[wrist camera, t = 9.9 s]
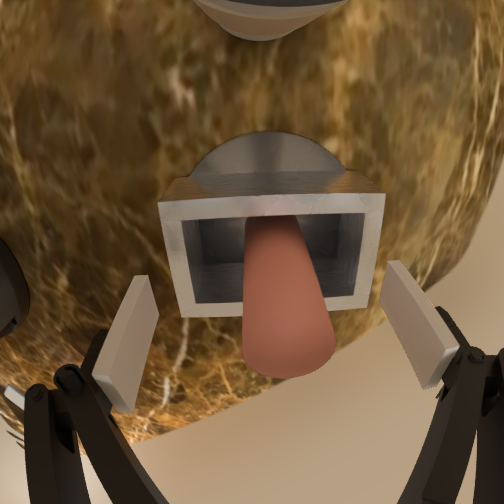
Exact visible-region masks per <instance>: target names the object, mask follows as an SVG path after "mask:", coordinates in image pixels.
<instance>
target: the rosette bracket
mask: <svg viewBox="0 0 504 504" xmlns="http://www.w3.org/2000/svg"><path fill="white" fill-rule="evenodd" d="M385 196H386V193H385V192H383V191H382V190H381V189H380V188H379V187H377V186H376V185H375V184H374V183H373V182H371V181H370V180H369V179H368V178H367V177H365V176H364V175H363V174H362V173H360V172H359V171H347V170H346V169H345V168H344V167H343V165H342V164H341V163H340V162H339V160H337V159H336V158H335V157H334V156H333V155H332V154H331V153H330V152H329V151H327V150H326V149H325V148H323V147H322V146H320V145H319V144H317V143H316V142H314V141H312V140H309V139H307V138H305V137H303V136H300V135H296V134H293V133H288V132H283V131H257V132H251V133H247V134H243V135H240V136H237V137H234V138H232V139H229V140H227V141H226V142H224V143H222V144H220V145H219V146H217V147H216V148H214V149H213V150H212V151H211V152H209V153H208V154H207V155H206V156H205V157H204V158H203V159H202V160H201V161H200V162H199V163H198V165H197V166H196V167H195V169H194V170H193V171H192V173H191V174H190V176H189V177H180V178H176V179H175V180H174V182H173V183H172V184H171V186H170V187H169V188H168V189H167V191H166V192H165V193H164V195H163V196H162V197H161V198H160V200H159V201H158V202H157V203H158V208H159V214H160V220H161V225H162V230H163V236H164V241H165V246H166V251H167V256H168V260H169V265H170V270H171V274H172V279H173V283H174V288H175V292H176V296H177V300H178V304H179V309H180V313H181V317H228V316H243V278H244V239H245V222H246V219H247V217H250V216H272V215H295V216H296V218H297V220H298V223H299V226H300V229H301V232H302V235H303V238H304V241H305V243H306V246H307V249H308V252H309V255H310V258H311V261H312V264H313V267H314V270H315V273H316V276H317V279H318V282H319V286H320V289H321V292H322V295H323V298H324V301H325V304H326V308H327V311H334V310H346V309H356V308H366V307H367V303H368V299H369V294H370V289H371V285H372V280H373V274H374V269H375V264H376V258H377V252H378V246H379V240H380V234H381V227H382V220H383V213H384V205H385Z"/></svg>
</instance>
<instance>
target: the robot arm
mask: <svg viewBox="0 0 504 504" xmlns="http://www.w3.org/2000/svg"><path fill="white" fill-rule="evenodd" d="M379 302H380V304H381V306H382V308H383V310H384V311H385V313H386V315H387V317H388V319H389V321H390V323H391V325H392V326H393V329H394V331H395V332H396V334H397V336H398V338H399V340H400V342H401V344H402V346H403V348H404V350H405V352H406V354H407V357H408V358H409V360H410V362H411V365H412V367H413V369H414V371H415V373H416V375H417V378H418V380H419V382H420V384H421V386H422V388H423V390H425V389H429V388H432V387H436V386H437V385H438V383H439V381H440V380H441V378H442V380H443V382H444V385H443V387H442V388H441V390H440V391H439V393H438V394H437V396H436V398H438V397H439V400H438V403H437V406H436V410H435V413H434V416H433V419H432V422H431V425H430V428H429V431H428V434H427V436H426V439H425V442H424V445H423V447H422V450H421V452H420V455H419V457H418V460H417V462H416V464H415V467H414V469H413V472H412V474H411V476H410V478H409V480H408V482H407V485H406V486H405V489H404V491H403V493H402V495H401V497H400V499H399V501H398V503H397V504H455V501H456V498H457V496H458V492H459V490H460V487H461V484H462V481H463V478H464V475H465V472H466V469H467V465H468V462H469V458H470V455H471V451H472V447H473V443H474V439H475V435H476V430H477V462H476V463H477V464H476V478H475V489H474V498H473V504H504V348H502V349H501V350H500V352H499V353H498V355H485V354H484V352H483V351H482V350H481V349H479V348H477V347H473V346H470V345H469V343H468V342H467V340H466V339H465V337H464V336H463V334H462V333H461V331H460V330H459V328H458V327H457V326H456V324H455V322H454V321H453V320H452V318H451V317H450V315H449V314H448V312H447V311H445V310H444V309H443V308H441V307H440V306H438V307H434V306H433V305H432V303H431V302H430V300H429V299H428V298H427V296H426V295H425V293H424V292H423V290H422V289H421V288H420V286H419V285H418V284H417V282H416V281H415V280H414V278H413V277H412V276H411V274H410V273H409V272H408V270H407V269H406V268H405V266H404V265H403V264H402V262H401V261H400V260H392V261H388V262H387V267H386V271H385V276H384V280H383V285H382V289H381V293H380V298H379ZM28 311H29V294H28V289H27V286H26V283H25V280H24V277H23V275H22V272H21V270H20V268H19V266H18V264H17V262H16V260H15V259H14V257H13V255H12V254H11V252H10V251H9V249H8V248H7V246H6V245H5V244H4V243H3V241H2V240H1V239H0V340H1V339H3V338H4V337H6V336H7V335H9V334H10V333H12V332H13V331H15V330H16V329H17V328H18V327H19V326H20V324H21V323H22V321H23V320H24V318H25V317H26V315H27V313H28ZM158 317H159V312H158V309H157V306H156V302H155V299H154V295H153V292H152V288H151V285H150V281H149V277H148V275H137V276H134V278H133V280H132V282H131V284H130V286H129V288H128V290H127V293H126V295H125V297H124V299H123V301H122V303H121V305H120V308H119V310H118V312H117V314H116V316H115V319H114V321H113V323H112V326H111V328H110V330H100V331H99V332H98V333H97V334H96V335H95V336H94V338H93V340H92V342H91V345H90V347H89V349H88V351H87V354H86V356H85V358H84V361H83V363H82V365H81V368H79V367H78V366H76V365H74V364H67V365H63V366H62V367H60V368H59V369H58V370H57V371H56V373H55V375H54V377H53V380H54V384H55V385H56V386H57V388H58V389H54V390H48V389H47V388H46V386H45V385H43V384H34V385H32V386H31V387H30V388H28V390H27V391H26V393H25V398H24V444H25V445H24V446H25V461H26V474H27V482H28V490H29V498H30V504H91V502H90V498H89V494H88V490H87V486H86V481H85V477H84V473H83V467H82V462H81V457H80V451H79V445H78V439H77V433H78V436H79V438H80V440H81V442H82V445H83V447H84V449H85V451H86V454H87V456H88V458H89V460H90V462H91V464H92V466H93V468H94V470H95V472H96V474H97V476H98V478H99V480H100V482H101V483H102V485H103V487H104V489H105V491H106V492H107V494H108V496H109V498H110V499H111V501H112V503H113V504H169V503H168V501H167V500H166V499H165V498H164V496H163V495H162V493H161V492H160V491H159V489H158V488H157V487H156V485H155V484H154V482H153V481H152V479H151V478H150V477H149V475H148V474H147V472H146V471H145V469H144V468H143V466H142V465H141V463H140V462H139V460H138V458H137V457H136V455H135V454H134V452H133V450H132V449H131V447H130V446H129V444H128V442H127V440H126V439H125V437H124V435H123V434H122V432H121V430H120V428H119V427H118V425H117V423H116V421H115V419H114V417H113V416H112V414H111V413H110V412H111V408H112V406H113V407H114V408H115V410H116V411H117V412H121V413H129V414H133V410H134V406H135V402H136V398H137V394H138V390H139V386H140V382H141V378H142V374H143V370H144V367H145V363H146V359H147V356H148V352H149V348H150V345H151V341H152V338H153V334H154V331H155V327H156V324H157V321H158ZM76 431H77V432H76Z"/></svg>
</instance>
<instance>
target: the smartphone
mask: <svg viewBox="0 0 504 504" xmlns="http://www.w3.org/2000/svg"><path fill="white" fill-rule="evenodd" d="M4 395H5V396H6V397H7V398H8V399H10V400H11V401H12V402H14V403H15V404H16V405H17V406H19V407H20V408H21V409H23V410H24V398H25V395H23V394H22V393H21V392H19V391H18V390H17V389H15V388H14V387H13V386H11V385H10V384H8V385H7V387H6V389H5V392H4Z"/></svg>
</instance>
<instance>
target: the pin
mask: <svg viewBox="0 0 504 504" xmlns="http://www.w3.org/2000/svg"><path fill="white" fill-rule="evenodd" d="M335 347H336V337H335V334H334V331H333V327H332V324H331V321H330V317H329V314H328V311H327V308H326V304H325V301H324V298H323V295H322V292H321V289H320V286H319V282H318V279H317V276H316V273H315V270H314V267H313V264H312V261H311V258H310V255H309V252H308V249H307V246H306V243H305V241H304V238H303V235H302V232H301V229H300V226H299V223H298V220H297V218H296V216H295V215H272V216H250V217H247V219H246V222H245V239H244V278H243V322H242V355H243V359H244V361H245V362H246V364H247V365H248V366H249V367H250V368H251V369H252V370H254V371H255V372H257V373H259V374H261V375H264V376H268V377H272V378H294V377H299V376H303V375H306V374H309V373H311V372H313V371H315V370H317V369H319V368H320V367H322V366H323V365H324V364H325V363H326V362H327V361H328V360H329V359H330V358H331V356H332V355H333V353H334V351H335Z"/></svg>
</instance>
